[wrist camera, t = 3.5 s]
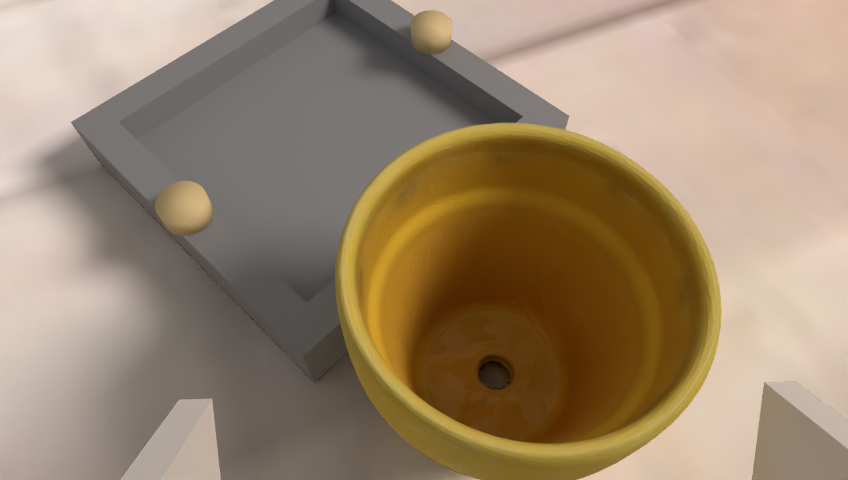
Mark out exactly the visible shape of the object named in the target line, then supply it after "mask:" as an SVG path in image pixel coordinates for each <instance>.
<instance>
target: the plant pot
mask: <svg viewBox="0 0 848 480" xmlns="http://www.w3.org/2000/svg"><path fill="white" fill-rule="evenodd" d="M335 290H336V301H337V308H338V313H339V319H340V323H341V328H342V332H343V336H344V339H345V343H346V346H347V350H348V353H349V356H350V359H351V362H352V364H353V367H354V369H355V372H356V374H357V376H358V378H359V381H360V383H361V385H362V387H363V388H364V390H365V392H366V394H367V396H368V397H369V399H370V400H371V402H372V403H373V405H374V406H375V408H376V409H377V410H378V412H379V413H380V414H381V416H382V417H383V418H384V419H385V421H386V422H387V423H388V424H389V425H390V426H391V427H392V428H393V429H394V430H395V431H396V432H397V433H398V434H399V435H400V436H401V437H402V438H403V439H405V440H406V441H407V442H408V443H409V444H410V445H412V446H413V447H414V448H416V449H417V450H418V451H420V452H421V453H423V454H424V455H426V456H427V457H429V458H431V459H432V460H434V461H436V462H438V463H439V464H441V465H443V466H445V467H447V468H449V469H451V470H454V471H456V472H459V473H461V474H464V475H467V476H470V477H473V478H477V479H480V480H577V479H580V478H584V477H586V476H589V475H591V474H594V473H596V472H599V471H601V470H603V469H605V468H607V467H609V466H611V465H613V464H615V463H617V462H619V461H620V460H622V459H624V458H625V457H627V456H629V455H630V454H632V453H633V452H635V451H636V450H638V449H640V448H641V447H643V446H644V445H646V444H647V443H648V442H650V441H651V440H653V439H654V438H655V437H656V436H658V435H659V434H660V433H661V432H662V431H664V430H665V429H666V428H667V427H668V426H670V425H671V424H672V423H673V422H674V421H675V420H676V419H677V418H678V417H679V415H680V414H681V413H682V412H683V411H684V410H685V409H686V408H687V406H688V405H689V404H690V403H691V401H692V400H693V399H694V397H695V396H696V394H697V393H698V391H699V390H700V388H701V387H702V385H703V383H704V381H705V379H706V377H707V375H708V372H709V370H710V367H711V365H712V362H713V360H714V356H715V353H716V349H717V345H718V339H719V333H720V325H721V298H720V289H719V283H718V277H717V274H716V270H715V267H714V263H713V260H712V258H711V255H710V252H709V250H708V248H707V246H706V244H705V242H704V240H703V238H702V236H701V234H700V232H699V230H698V228H697V227H696V225H695V223H694V222H693V220H692V219H691V217H690V216H689V214H688V213H687V211H686V210H685V209H684V208H683V206H682V205H681V204H680V203H679V201H678V200H677V199H676V198H675V197H674V196H673V195H672V194H671V192H670V191H669V190H668V189H667V188H666V187H665V186H664V185H663V184H662V183H661V182H659V181H658V180H657V179H656V178H655V177H654V176H653V175H651V174H650V173H649V172H648V171H646V170H645V169H644V168H643V167H641V166H640V165H639V164H637V163H636V162H634V161H633V160H631V159H630V158H628V157H626V156H625V155H623V154H622V153H620V152H618V151H616V150H614V149H612V148H610V147H608V146H606V145H604V144H602V143H600V142H598V141H595V140H593V139H591V138H588V137H586V136H583V135H580V134H577V133H574V132H571V131H567V130H564V129H559V128H554V127H548V126H542V125H536V124H528V123H492V124H482V125H474V126H468V127H464V128H459V129H455V130H452V131H448V132H445V133H442V134H440V135H437V136H434V137H432V138H430V139H427V140H425V141H423V142H421V143H419V144H417V145H415V146H413V147H411V148H409V149H408V150H406V151H405V152H403V153H402V154H401V155H399V156H398V157H396V158H395V159H394V160H392V161H391V162H390V163H389V164H387V165H386V166H385V167H384V168H383V169H382V170H381V171H380V172H379V173H378V174H377V175H376V176H375V177H374V178H373V179H372V180H371V182H370V183H369V184H368V185H367V187H366V188H365V189H364V190H363V192H362V193H361V195H360V196H359V198H358V199H357V201H356V203H355V204H354V206H353V208H352V210H351V212H350V214H349V216H348V218H347V221H346V224H345V226H344V229H343V232H342V235H341V239H340V242H339V247H338V252H337V257H336V267H335ZM488 361H497V362H499V363H501V364H503V365H504V366H505V367H506V368H507V369H508V371H509V373H510V382H509V384H508V385H507V386H506V387H504V388H503V389H492V388H489V387H487V386H486V385H485V384H484V383H483V382H482V381H481V379H480V377H479V369H480V367H481V366H482V365H483V364H484V363H485V362H488Z"/></svg>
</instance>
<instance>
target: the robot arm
mask: <svg viewBox="0 0 848 480" xmlns="http://www.w3.org/2000/svg"><path fill="white" fill-rule="evenodd" d="M120 480H221V477H220V467H219V458H218V449H217V439H216V430H215V420H214V411H213V402H212V399H180V400H178V402H177V403H176V404H175V406H174V407H173V408H172V410H171V411H170V413H169V414H168V415H167V417H166V418H165V419H164V421H163V422H162V423H161V425H160V426H159V428H158V429H157V430H156V432H155V433H154V434H153V436H152V437H151V438H150V440H149V441H148V442H147V444H146V445H145V447H144V448H143V449H142V451H141V452H140V453H139V455H138V456H137V457H136V459H135V460H134V462H133V463H132V464H131V466H130V467H129V468H128V470H127V471H126V472H125V474H124V475H123V476H122V478H121V479H120ZM752 480H848V419H846V418H845V417H844V416H842V415H841V414H840V413H838V412H837V411H836V410H834V409H833V408H831V407H830V406H829V405H827V404H826V403H825V402H823V401H822V400H821V399H819V398H818V397H816V396H815V395H814V394H812V393H811V392H810V391H808V390H807V389H806V388H804V387H803V386H801V385H800V384H799V383H797V382H796V381H788V382H764V389H763V396H762V404H761V412H760V420H759V428H758V436H757V444H756V452H755V460H754V468H753V476H752Z"/></svg>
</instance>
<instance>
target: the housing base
mask: <svg viewBox="0 0 848 480" xmlns="http://www.w3.org/2000/svg"><path fill="white" fill-rule="evenodd" d="M451 34H452V21H451V19H450V18H449V17H448V16H447V15H446V14H444V13H442V12H439V11H424V12H421V13H418V14H417V15H416V16H414V15H412V14H411V13H409V12H408V11H406V10H405V9H403V8H402V7H400V6H399V5H397V4H395V3H394V2H392V1H391V0H274V1H273V2H271V3H269V4H268V5H266V6H264V7H263V8H261V9H259V10H258V11H256V12H254V13H253V14H251V15H249V16H248V17H246V18H244V19H243V20H241V21H239V22H238V23H236V24H234V25H233V26H231V27H229V28H227V29H226V30H224V31H222V32H221V33H219V34H217V35H216V36H214V37H212V38H211V39H209V40H207V41H206V42H204V43H202V44H201V45H199V46H197V47H196V48H194V49H192V50H191V51H189V52H187V53H186V54H184V55H182V56H181V57H179V58H177V59H176V60H174V61H172V62H171V63H169V64H167V65H166V66H164V67H162V68H161V69H159V70H157V71H156V72H154V73H152V74H151V75H149V76H147V77H146V78H144V79H142V80H141V81H139V82H137V83H136V84H134V85H132V86H131V87H129V88H127V89H126V90H124V91H122V92H121V93H119V94H117V95H116V96H114V97H112V98H111V99H109V100H107V101H106V102H104V103H102V104H101V105H99V106H97V107H96V108H94V109H92V110H91V111H89V112H87V113H86V114H84V115H82V116H81V117H79V118H77V119H76V120H74V121H72V122H71V123H72V125H73V126H74V127H75V129H76V130H77V132H78V133H79V134H80V136H81V137H82V138H83V140H84V141H85V143H86V144H87V145H88V147H89V148H90V150H91V151H92V152H93V154H94V155H95V157H96V158H97V159H98V161H99V162H100V163H101V165H102V166H103V167H104V168H105V169H106V170H107V171H108V172H109V173H110V174H111V175H112V176H113V177H114V178H115V179H116V180H117V181H118V182H119V183H120V184H121V185H122V186H123V187H124V188H125V189H126V190H127V191H128V192H129V193H130V194H131V195H132V196H133V197H134V198H135V199H136V200H137V201H138V202H139V203H140V204H141V205H142V207H143V208H144V209H145V210H146V211H147V212H148V213H149V214H150V215H151V216H152V217H153V218H154V219H155V220H156V221H157V222H158V223H159V224H160V225H161V226H162V227H163V228H164V229H165V230H166V231H167V232H168V233H169V234H170V235H171V236H172V237H173V238H174V239H175V240H176V241H177V242H178V243H179V244H180V245H181V246H182V247H183V248H184V249H185V251H186V252H187V253H188V254H189V255H190V256H191V257H192V258H193V259H194V260H195V261H196V262H197V263H198V264H199V265H200V266H201V267H202V268H203V269H204V270H205V271H206V272H207V273H208V274H209V275H210V276H211V277H212V278H213V279H214V280H215V281H216V282H217V283H218V284H219V285H220V286H221V287H222V288H223V289H224V290H225V291H226V292H227V294H228V295H229V296H230V297H231V298H232V299H233V300H234V301H235V302H236V303H237V304H238V305H239V306H240V307H241V308H242V309H243V310H244V311H245V312H246V313H247V314H248V315H249V316H250V317H251V318H252V319H253V320H254V321H255V322H256V323H257V324H258V325H259V326H260V327H261V328H262V329H263V330H264V331H265V332H266V333H267V334H268V335H269V337H270V338H271V339H272V340H273V341H274V342H275V343H276V344H277V345H278V346H279V347H280V348H281V349H282V350H283V351H284V352H285V353H286V354H287V355H288V356H289V357H290V358H291V359H292V360H293V361H294V362H295V363H296V364H297V365H298V366H299V367H300V368H301V369H302V370H303V371H304V372H305V373H306V374H307V375H308V376H309V377H310V378H311V380H312V381H313V382H314V383H315V382H316V381H317V380H318V379H319V378H320V377H321V376H323V375H324V374H325V373H326V372H327V371H328V370H329V369H330V368H331V367H332V366H333V365H334V364H335V363H336V362H338V361H339V360H340V359H341V358H342V357H343V356H344V355H345V354H346V353H347V352H348V350H347V346H346V343H345V339H344V336H343V332H342V328H341V323H340V319H339V313H338V308H337V301H336V290H335V267H336V257H337V252H338V247H339V242H340V239H341V235H342V232H343V229H344V226H345V224H346V221H347V218H348V216H349V214H350V212H351V210H352V208H353V206H354V204H355V203H356V201H357V199H358V198H359V196H360V195H361V193H362V192H363V190H364V189H365V188H366V187H367V185H368V184H369V183H370V182H371V180H372V179H373V178H374V177H375V176H376V175H377V174H378V173H379V172H380V171H381V170H382V169H383V168H384V167H385V166H386V165H387V164H389V163H390V162H391V161H392V160H394V159H395V158H396V157H398V156H399V155H401V154H402V153H403V152H405V151H406V150H408V149H409V148H411V147H413V146H415V145H417V144H419V143H421V142H423V141H425V140H427V139H430V138H432V137H434V136H437V135H440V134H442V133H445V132H448V131H452V130H455V129H459V128H464V127H468V126H474V125H482V124H492V123H528V124H536V125H542V126H548V127H554V128H559V129H564V130H565V128H566V125H567V122H568V118H569V116H568V115H567V114H565V113H564V112H562V111H561V110H559V109H558V108H556V107H555V106H553V105H551V104H550V103H548V102H547V101H545V100H544V99H542V98H541V97H539V96H538V95H536V94H534V93H533V92H531V91H530V90H528V89H527V88H525V87H524V86H522V85H521V84H519V83H517V82H516V81H514V80H513V79H511V78H510V77H508V76H507V75H505V74H504V73H502V72H501V71H499V70H497V69H496V68H494V67H493V66H491V65H490V64H488V63H487V62H485V61H484V60H482V59H480V58H479V57H477V56H476V55H474V54H473V53H471V52H470V51H468V50H467V49H465V48H463V47H462V46H460V45H459V44H457V43H456V42H454V41H453V40H451Z"/></svg>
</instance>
